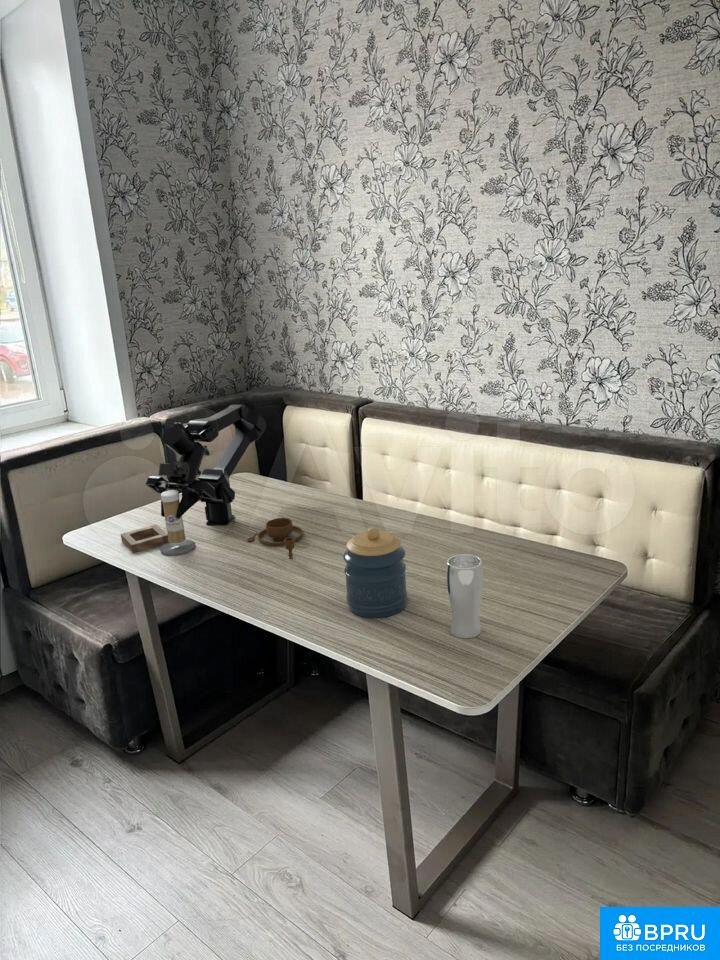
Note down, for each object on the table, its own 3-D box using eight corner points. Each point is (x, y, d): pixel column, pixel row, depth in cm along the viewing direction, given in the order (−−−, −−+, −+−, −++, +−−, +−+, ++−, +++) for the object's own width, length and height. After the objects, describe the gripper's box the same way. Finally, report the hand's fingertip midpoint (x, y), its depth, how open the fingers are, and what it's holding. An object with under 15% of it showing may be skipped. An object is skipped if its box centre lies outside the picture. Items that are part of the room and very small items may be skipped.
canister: (372, 585, 166) (367, 512, 160) (419, 599, 158) (416, 523, 152) (334, 608, 156) (328, 532, 151) (382, 625, 148) (377, 545, 143)
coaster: (200, 541, 197) (200, 539, 196) (187, 555, 188) (187, 553, 188) (168, 541, 198) (168, 539, 198) (154, 555, 190) (154, 553, 190)
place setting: (319, 531, 199) (317, 511, 197) (297, 563, 181) (294, 541, 179) (258, 529, 203) (256, 510, 201) (230, 560, 185) (227, 539, 183)
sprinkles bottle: (168, 545, 190) (159, 496, 186) (168, 538, 194) (160, 490, 190) (186, 542, 191) (178, 494, 187) (186, 535, 195) (178, 488, 191)
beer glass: (480, 620, 148) (479, 552, 143) (486, 638, 141) (486, 567, 136) (445, 623, 148) (443, 554, 143) (450, 641, 141) (448, 570, 136)
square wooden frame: (157, 531, 205) (156, 524, 205) (169, 542, 197) (168, 534, 197) (121, 541, 200) (120, 533, 200) (133, 552, 192) (131, 545, 192)
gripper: (143, 446, 192) (122, 501, 186) (202, 451, 184) (182, 508, 179) (167, 465, 201) (148, 518, 196) (224, 470, 194) (205, 525, 188)
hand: (169, 517), depth 189 cm, fingers closed on sprinkles bottle, 4 cm apart
